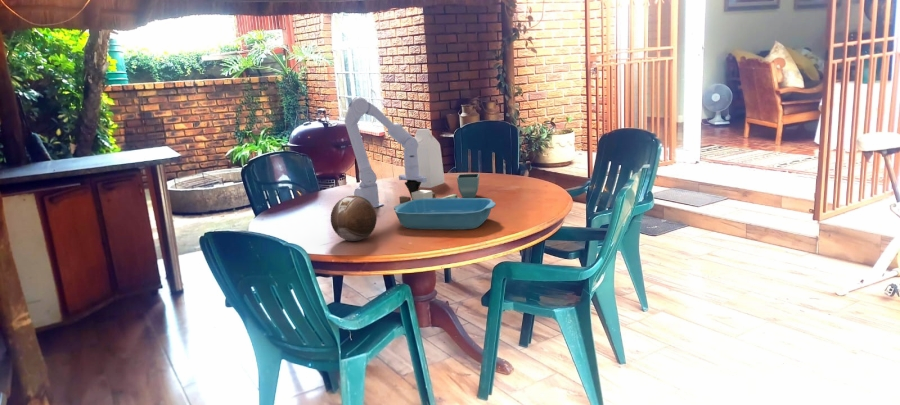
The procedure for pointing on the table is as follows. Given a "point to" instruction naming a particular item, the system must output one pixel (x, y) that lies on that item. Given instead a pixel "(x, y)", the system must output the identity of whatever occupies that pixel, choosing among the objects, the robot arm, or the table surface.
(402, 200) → the trap lane
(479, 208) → the casserole dish
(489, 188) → the table surface
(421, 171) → the milk
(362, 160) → the robot arm
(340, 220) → the wooden sphere
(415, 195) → the block
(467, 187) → the flower pot
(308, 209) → the table surface
